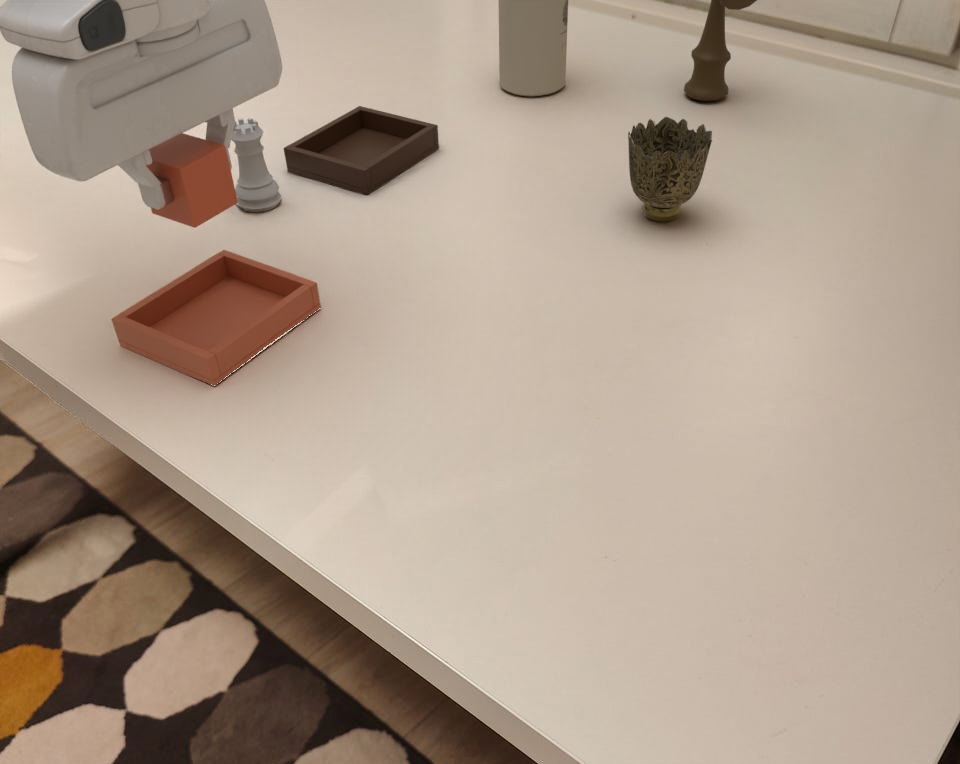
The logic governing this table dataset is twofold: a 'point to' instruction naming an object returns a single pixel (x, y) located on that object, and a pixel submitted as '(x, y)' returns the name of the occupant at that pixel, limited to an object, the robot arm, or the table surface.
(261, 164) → the rook chess piece
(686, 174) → the cup
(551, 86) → the travel mug
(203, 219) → the terracotta block
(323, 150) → the walnut tray
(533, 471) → the table surface
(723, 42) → the kendama
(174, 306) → the terracotta tray
